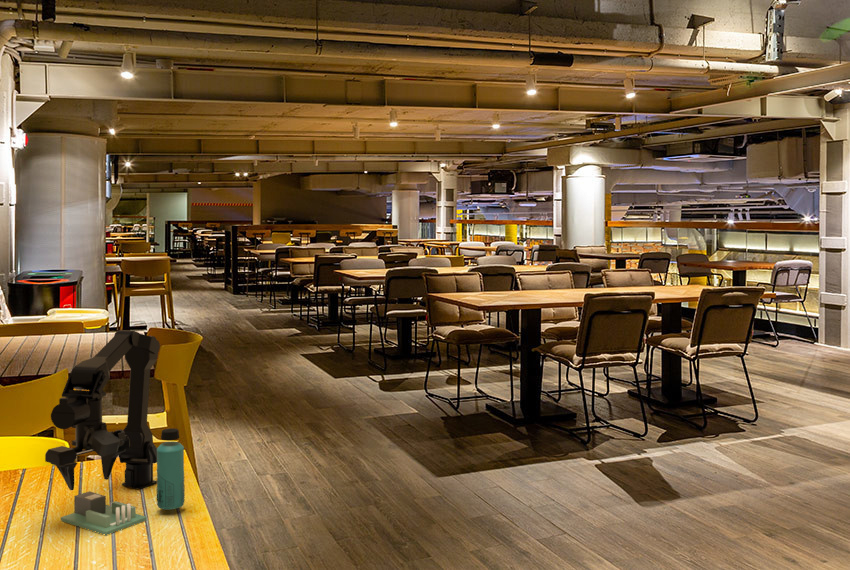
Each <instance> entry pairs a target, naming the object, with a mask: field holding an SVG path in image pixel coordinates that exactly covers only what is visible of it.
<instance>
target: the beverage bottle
mask: <svg viewBox="0 0 850 570" xmlns="http://www.w3.org/2000/svg"><path fill="white" fill-rule="evenodd" d="M179 432H180V431H179V429H178V428H165V429H164V428H163V430H161V436H160V439H161V440H163V441H165V442H162V443H161V444H160V445H158V447H156V448H157V463H156V481H157V483H156V484H155V485H156V506H157V508H159V509H161V510H174V509H176V510H177V509H180V508H181V507H183V506H184V505H185V501H186V498H185V497H186V496H185V495H186V494H185V489H186V485H185V477H186V476H185V465H184V464H185V460H184V459H185V458H184V456H185V447H184V445H182V444H181V443H180V442H178V441H175V440H179V439H180V433H179Z"/></svg>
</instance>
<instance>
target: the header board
mask: <svg viewBox="0 0 850 570" xmlns="http://www.w3.org/2000/svg"><path fill="white" fill-rule="evenodd" d="M136 508H137V507H136V506H133V505H132V503H129V502H128V503H123V502H120V501H116V500H115V501H112V502H111V505H109V504H106V513H104V514H101V513H98V512H95V511H91V510H88V511H86V516H83V515H80V514H77V513H75V512H73V513H69V514H67V515H63V516H60V522H64V523H66V524H70V525H73V526H75V527H78V526H79V527H78V528H81V527H82V528H83V529H84V528H86V529H85V530H87V529H89V530H88V531H90V530H92V531H91V532H94V531H96V532H95V533H97V532H99V533H98V534H100V533H102V534H101V535H103V534H105V535H104V536H108V535H107V534H109V535H111V534H110V533H112V534H114V533H116V532H115V531H117V532H119V531H122V530H124V529H123V528H125V529H127V528H130V527H132V526H131V525H133V526H134V524H135V525H138V524H140V522H141V523H143V522H146V521H147V519H148V516H145V515H141V514H138V513H137V512H136V510H137V509H136ZM137 523H138V524H137ZM129 526H130V527H129ZM126 527H127V528H126ZM121 529H122V530H121ZM118 530H119V531H118ZM113 532H114V533H113Z"/></svg>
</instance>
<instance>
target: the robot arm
mask: <svg viewBox="0 0 850 570" xmlns="http://www.w3.org/2000/svg"><path fill="white" fill-rule="evenodd" d="M160 344H161V343H160V342H159V340H158V339H157V338H156V337H155V336H154V335H147V334H143V333H141V332H138V331H136V330H133V329H131V330H128V329H126V330H125V329H119V330H117V331H115V333H114V335H113V337H112V338H111V339H110V340H109V341H108V342H107V343H106V344H105V345H104V346H103V347H102V348H101V349H100V350H99V351H98V352H96V354H95V355H94V356H93V357H92V358H89V359H86V360H83V361H81V362H79V363H77V364H76V365H75V366H73V368H72V369H71V371H70V372H69V375H68V378H67V381H66V383H65V384H64V385H65V386H64V387H63V391H62V393H61V397H60V398H59V400H58V401H59V402H58V404H56V405H55V406H54V407H53V408H52V410H51V412H50V420H51V422H52V424H53V425H54V426H55V427H56V428H58V429H60V430H68V429H69V428H72V429H75V439H74V440H71V445H72V446H75V447H67V446H63V445H60V446H57V447H53V448H52V447H51V448H49V449H47V450H46V452H45V455H44V457H45V460H44V461H45V462H46V463H48V464H49V463H50V464H51V465H53V466H55V467H56V468H57V469H58V471H59V472H60V474H61V476H62V478H63V480H64V482H65V484H66V485H67V488H68V489H69V491H74V490H75V468H76V466H77V465H78V462H75V461H76V460H77V456H81V455H85V454H88V453H92V452H95V453H96V454H97V455H98V456H99V457H100V461H101V470H102V474H103V479H104V480H106V481H107V480H109V479H110V476H111V473H112V470H113V468H114V465H115V463H116V460H117V458H119V459H118V460H119V463H121V464H125V470H124V482H122V483H121V486H124V487H127V488H131V489H134V490H135V489H136V490H140V489H144V488H146V487H150V486H152V485H153V486H154V485H156V484H157V480H154V464H157V448H158V447H156V445H155V443H154V439H153V438H154V436H153V433H152V431H151V428H150V426H149V425H148V412H149V410H148V409H149V395H150V382H151V381H150V379H151V378H150V377H151V369H152V367H153V366H154V365H155V364H156V362H157V360H158V357H159V352H160V350H161V345H160ZM123 357H124V360H125V361H126V363H127V365H128V368H129V369H130V374H129V388H128V389H129V390H128V407H127V419H126V420H127V422H126V425H125V427H124V429H117V430H114V431H108V429H107V428H108V427H107V423H106V422H104V421H103V397H106V396H107V392H106V391H104V388H105V387H106V385H107V383H108V382H109V381H110V379H111V377H110V372H111V370H112V369H113V368H114V367H116V365H117V364H118V363H119V362H120V361H121V360H122V358H123Z"/></svg>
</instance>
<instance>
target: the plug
mask: <svg viewBox="0 0 850 570" xmlns="http://www.w3.org/2000/svg"><path fill="white" fill-rule="evenodd" d="M73 498H74V500H73V501H74V503H73V504H74V513H77V514H80V515H83V516H86V511H88V510H91V511H95V512H98V513H101V514H104V513H106V505H107V504H106V500H107V499H106V495H104V494H103V495H102V494H100V493H97V492H93V491H91V490H90V491H86V492H82V493H79V494H77V495H74V497H73Z"/></svg>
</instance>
